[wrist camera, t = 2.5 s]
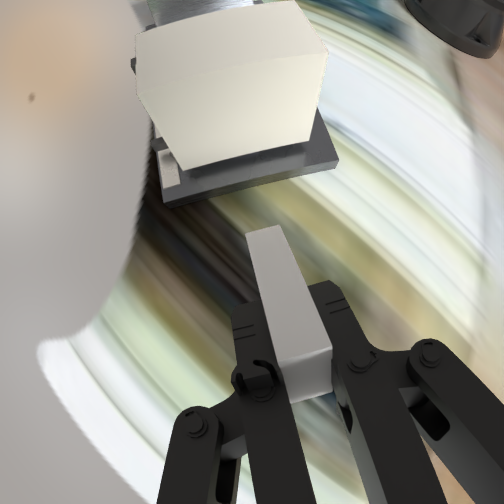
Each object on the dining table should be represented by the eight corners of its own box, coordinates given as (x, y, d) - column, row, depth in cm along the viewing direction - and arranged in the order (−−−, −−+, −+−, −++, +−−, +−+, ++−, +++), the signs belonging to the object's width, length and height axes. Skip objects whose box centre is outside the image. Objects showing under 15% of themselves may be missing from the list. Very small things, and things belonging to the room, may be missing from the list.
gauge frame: (149, 35, 26) (123, -25, 17) (261, 9, 26) (258, -56, 17) (169, 209, 23) (114, 152, 13) (335, 168, 22) (369, 93, 13)
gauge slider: (152, 123, 21) (105, 46, 13) (287, 89, 21) (294, 0, 12) (159, 178, 20) (101, 108, 12) (308, 141, 20) (329, 52, 12)
